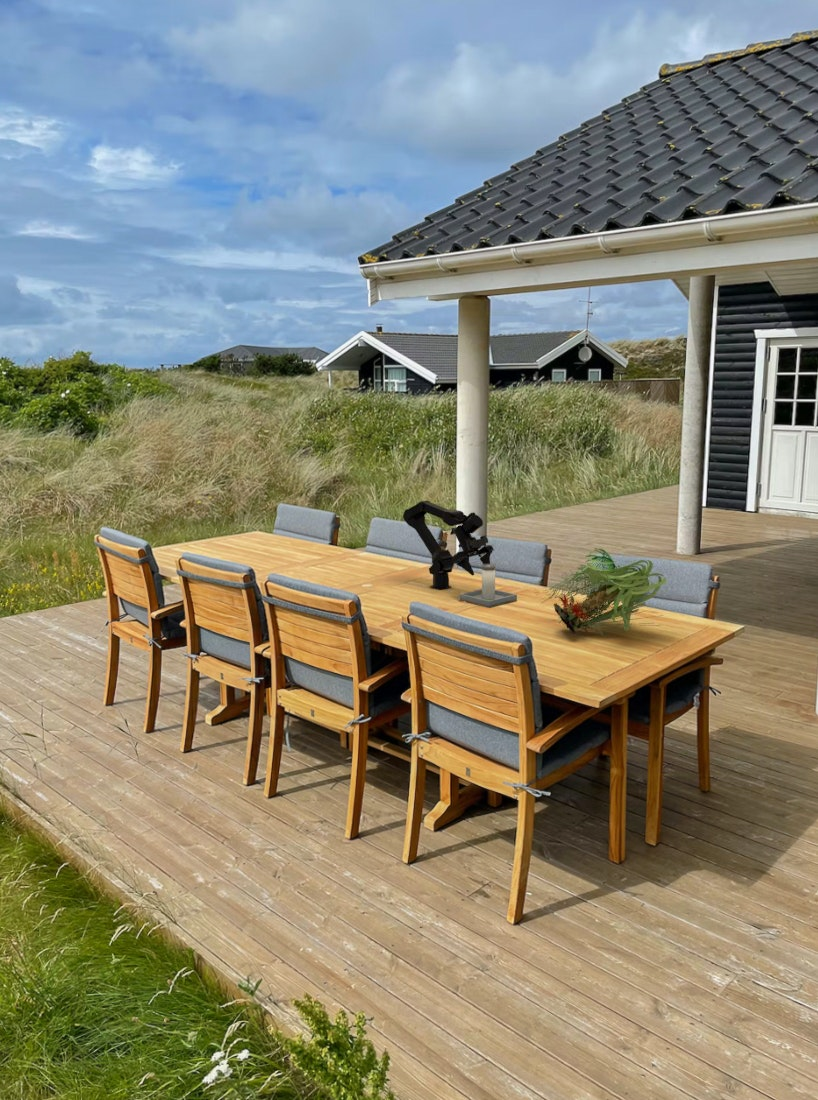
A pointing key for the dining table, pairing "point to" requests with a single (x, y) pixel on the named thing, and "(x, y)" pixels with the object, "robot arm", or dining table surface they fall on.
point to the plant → (605, 593)
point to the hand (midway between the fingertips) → (481, 572)
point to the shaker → (488, 581)
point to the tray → (500, 599)
